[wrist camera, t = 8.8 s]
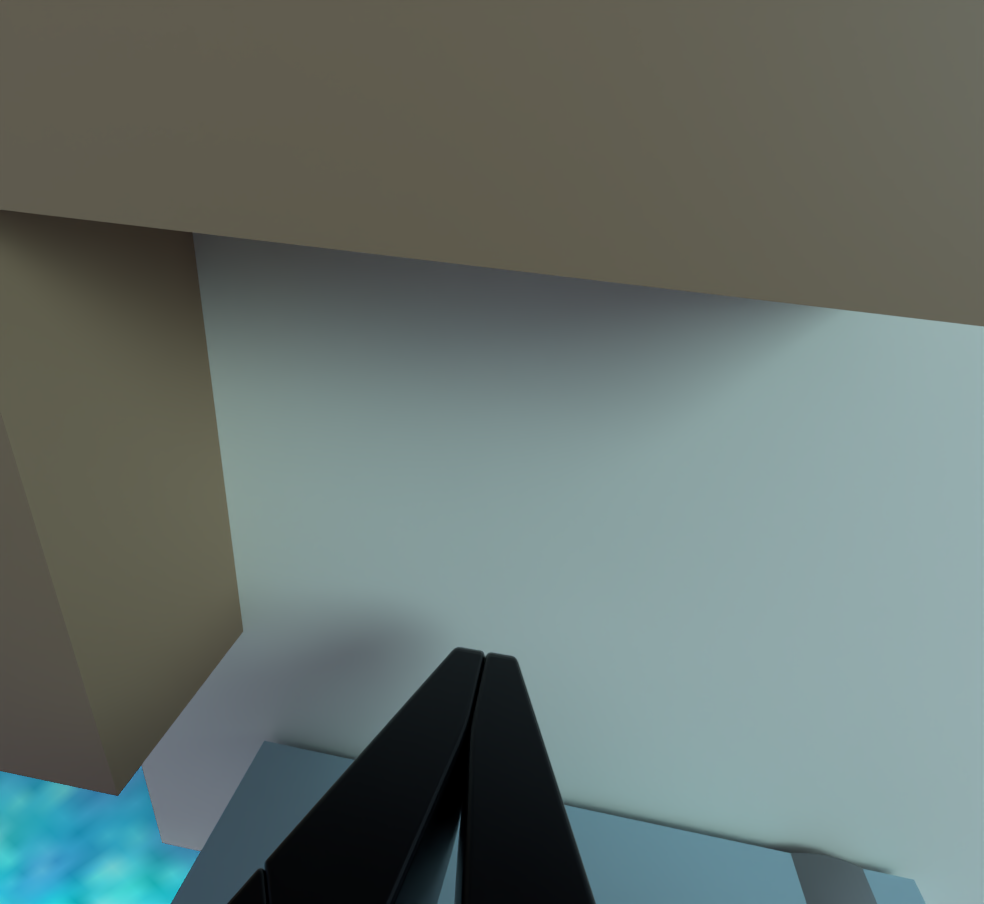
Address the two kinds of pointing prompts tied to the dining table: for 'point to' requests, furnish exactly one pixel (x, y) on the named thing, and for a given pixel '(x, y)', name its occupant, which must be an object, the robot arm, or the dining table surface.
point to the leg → (600, 839)
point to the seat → (504, 400)
